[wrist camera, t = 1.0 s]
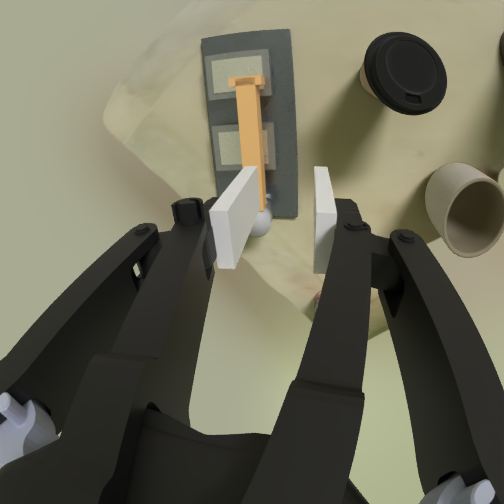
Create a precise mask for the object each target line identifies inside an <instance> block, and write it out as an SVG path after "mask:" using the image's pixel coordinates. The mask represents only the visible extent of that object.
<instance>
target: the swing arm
mask: <svg viewBox="0 0 504 504" xmlns="http://www.w3.org/2000/svg"><path fill="white" fill-rule="evenodd" d="M228 80H229V87H236V98H237V110H238V121H239V133H240V144H241V156H242V167H243V168H244V167H245V166H257V167H258V181H259V196H260V209H259V212H258V214H257V217H256V219H255V222H254V224H253V226H252V229H251V231H250V234H249V235H251V236H253V237H261V236H263V235H265V234H266V233H267V232H268V231H269V228H270V225H271V222H272V218H273V214H272V211H271V209H270V208H269V207H268V206H267V205H266V204H267V203H266V185H265V168H264V151H263V136H262V121H261V107H260V93H259V85H265V77H264V76H262V75H256V76H244V77H234V78H228Z"/></svg>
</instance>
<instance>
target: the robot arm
mask: <svg viewBox="0 0 504 504" xmlns="http://www.w3.org/2000/svg"><path fill="white" fill-rule="evenodd" d="M500 49H501V57H502V61H503V65H504V33H503V35H502V37H501V44H500ZM171 206H172V211H173V216H174V221H175V224H174V226H173V228H172V230H171V231H166V232H159V233H158V229H157V226H156V225H155V224H152V223H143V224H139V225H138V226H136V227H134V228H132V229H131V230H130V231H129V232H127V233H126V234H125V235H124V236H123V237H122V238H121V239H119V240H118V241H117V242H116V243H115V244H114V245H112V246H111V247H110V248H109V249H108V250H107V251H106V252H105V253H104V254H102V255H101V256H100V257H99V258H98V259H97V260H96V261H95V262H94V263H93V264H92V265H91V266H89V268H87V269H86V270H85V271H84V272H83V273H82V274H81V275H80V276H79V277H78V278H77V279H76V280H75V281H74V282H73V283H72V284H71V285H70V286H69V287H68V288H67V289H66V290H65V291H64V292H63V293H62V294H61V295H60V296H59V297H58V298H57V299H56V300H55V301H54V302H53V303H52V304H51V305H50V306H49V307H48V309H47V310H46V311H45V312H44V313H43V314H42V315H41V316H40V317H39V319H38V320H37V321H36V322H35V323H34V324H33V325H32V326H31V327H30V328H29V330H28V331H27V332H26V333H25V334H24V335H23V337H22V338H21V339H20V340H19V341H18V342H17V344H16V345H15V346H14V347H13V349H12V350H11V351H10V352H9V353H8V355H7V356H6V357H4V358H3V359H2V360H1V361H0V466H1V469H0V504H369V503H368V502H367V501H366V499H365V498H364V497H363V496H362V494H361V493H360V492H359V490H358V489H357V488H356V487H355V485H354V484H353V483H352V482H351V480H350V479H349V474H350V470H351V466H352V462H353V458H354V454H355V450H356V445H357V441H358V435H359V431H360V426H361V420H362V415H363V408H364V400H365V397H364V393H363V392H362V382H363V375H364V368H365V358H366V350H367V340H368V329H369V315H370V296H371V287H372V288H376V289H378V295H379V298H380V301H381V304H382V307H383V310H384V313H385V317H386V320H387V323H388V327H389V330H390V334H391V337H392V340H393V344H394V348H395V352H396V355H397V360H398V364H399V368H400V371H401V376H402V380H403V384H404V389H405V393H406V399H407V404H408V409H409V414H410V420H411V426H412V432H413V439H414V446H415V453H416V461H417V467H418V473H419V478H420V481H421V485H422V489H423V492H424V494H425V496H424V498H423V499H422V500H421V501H420V503H419V504H504V390H503V387H502V385H501V382H500V380H499V377H498V374H497V372H496V369H495V367H494V364H493V362H492V360H491V358H490V356H489V353H488V351H487V348H486V346H485V344H484V342H483V340H482V338H481V336H480V334H479V332H478V330H477V328H476V326H475V324H474V322H473V320H472V318H471V316H470V314H469V312H468V311H467V309H466V307H465V305H464V303H463V302H462V300H461V298H460V296H459V295H458V293H457V291H456V290H455V288H454V286H453V285H452V283H451V281H450V280H449V278H448V277H447V275H446V274H445V272H444V270H443V269H442V267H441V266H440V264H439V263H438V261H437V260H436V258H435V257H434V255H433V254H432V252H431V251H430V249H429V248H428V246H427V245H426V244H425V242H424V241H423V239H422V238H421V237H420V236H419V235H417V234H416V233H414V232H413V231H409V230H402V229H400V230H394V231H392V232H391V234H390V238H389V239H388V238H383V237H380V236H376V235H374V234H372V233H371V228H370V225H368V224H367V223H366V222H363V221H362V218H361V215H360V213H359V210H358V207H357V204H356V203H355V202H354V201H352V200H351V199H339V198H334V196H333V191H332V186H331V182H330V177H329V173H328V168H327V167H320V166H314V271H313V273H319V274H326V275H325V279H324V283H323V287H322V291H321V295H320V299H319V303H318V306H317V310H316V314H315V317H314V321H313V324H312V328H311V331H310V335H309V338H308V342H307V345H306V348H305V351H304V354H303V358H302V361H301V364H300V367H299V370H298V373H297V376H296V378H295V380H293V381H292V383H291V384H290V386H289V389H288V392H287V394H286V397H285V400H284V402H283V405H282V408H281V410H280V413H279V416H278V418H277V421H276V424H275V426H274V429H273V431H272V434H271V435H268V434H260V433H246V434H229V435H206V434H202V433H200V432H198V431H196V430H194V429H193V428H191V427H190V420H189V411H188V410H189V402H190V397H191V391H192V385H193V380H194V374H195V368H196V363H197V358H198V352H199V347H200V342H201V337H202V332H203V327H204V322H205V317H206V312H207V307H208V302H209V297H210V293H211V288H212V283H213V278H214V274H215V272H214V266H213V263H214V261H215V259H216V258H217V264H218V268H224V269H235V267H236V265H237V263H238V261H239V258H240V256H241V253H242V251H243V248H244V246H245V243H246V241H247V239H248V236H249V234H250V231H251V229H252V226H253V224H254V222H255V219H256V217H257V214H258V212H259V209H260V196H259V181H258V167H257V166H245V167H244V168H243V169H242V170H241V172H240V173H239V174H238V175H237V176H236V178H235V179H234V180H233V181H232V183H231V184H230V185H229V186H228V187H227V189H226V190H225V191H224V192H223V194H222V195H221V196H220V197H213V198H211V199H209V200H207V201H206V202H205V203H204V204H203V200H202V199H200V198H185V199H182V200H179V201H176V202H174V203H173V204H172V205H171ZM136 263H137V265H138V268H139V271H140V274H139V275H138V276H137V277H136V275H135V273H134V270H133V267H134V265H135V264H136ZM61 431H62V433H61V435H60V437H59V436H58V434H59V433H60V432H61Z"/></svg>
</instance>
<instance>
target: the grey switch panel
mask: <svg viewBox="0 0 504 504" xmlns="http://www.w3.org/2000/svg"><path fill="white" fill-rule="evenodd" d="M201 41H202V53H203V64H204V75H205V86H206V96H207V105H208V115H209V124H210V133H211V142H212V151H213V159H214V168H215V176H216V184H217V192H218V197H220V196H221V195H222V194H223V192H224V191H225V190H226V189H227V187H228V186H229V185H230V184H231V183H232V181H233V180H234V179H235V178H236V176H237V175H238V174H239V173H240V172H241V170H242V169H243V167H242V156H241V144H240V133H239V121H238V110H237V98H236V87H229V80H228V78H234V77H244V76H256V75H262V76H264V77H265V85H259V93H260V107H261V121H262V136H263V151H264V168H265V185H266V203H267V204H266V205H267V206H268V207H269V208H270V209H271V211H272V214H273V216H279V217H298V171H297V133H296V109H295V90H294V73H293V59H292V46H291V35H290V29H278V30H262V31H251V32H242V33H234V34H227V35H220V36H214V37H209V38H203V39H201Z"/></svg>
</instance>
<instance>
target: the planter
mask: <svg viewBox="0 0 504 504" xmlns="http://www.w3.org/2000/svg"><path fill="white" fill-rule="evenodd" d="M425 205H426V210H427V213H428V216H429V218H430V220H431V222H432V224H433V225H434V227H435V228H436V230H437V232H438V233H439V234H440V236H441V237H442V239H443V240H444V242H445V243H446V245H447V246H448V248H449V249H450V250H451V251H452V252H453V253H454V254H456V255H458V256H460V257H465V258H472V257H476V256H479V255H481V254H483V253H485V252H486V251H488V250H489V249H490V248H491V247H492V246H494V244H495V243H496V242H497V241H498V239H499V238H500V236H501V234H502V233H503V230H504V191H503V189H502V188H501V186H500V185H499V184H498V183H497V182H495V181H494V180H493V179H491V178H490V177H488V176H486V175H485V174H483V173H482V172H480V171H479V170H477V169H475V168H473V167H471V166H469V165H466V164H463V163H449V164H446V165H444V166H442V167H440V168H439V169H438V170H436V171H435V172H434V174H433V175H432V176H431V178H430V180H429V182H428V184H427V187H426V191H425Z"/></svg>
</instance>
